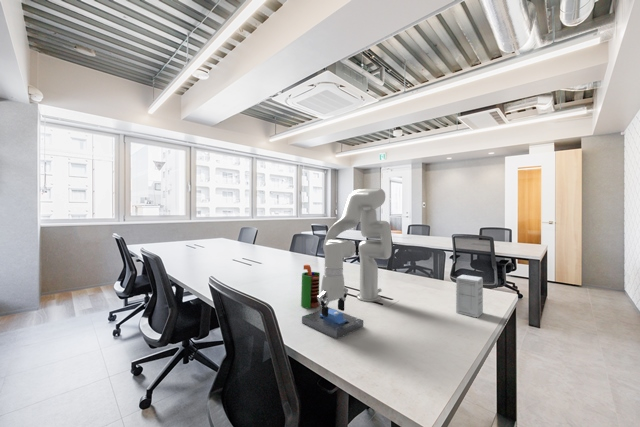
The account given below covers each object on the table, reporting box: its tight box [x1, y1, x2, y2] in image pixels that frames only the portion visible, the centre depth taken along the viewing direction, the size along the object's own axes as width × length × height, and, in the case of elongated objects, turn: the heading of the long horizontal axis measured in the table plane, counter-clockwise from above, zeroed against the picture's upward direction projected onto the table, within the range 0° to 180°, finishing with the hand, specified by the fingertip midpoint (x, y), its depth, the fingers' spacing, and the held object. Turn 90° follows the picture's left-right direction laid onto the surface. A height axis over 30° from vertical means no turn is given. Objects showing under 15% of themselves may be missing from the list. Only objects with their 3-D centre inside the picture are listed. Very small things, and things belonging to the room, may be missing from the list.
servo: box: [320, 308, 347, 326], centre depth 114 cm, size 4×12×6 cm, turn 43°
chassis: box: [301, 307, 364, 340], centre depth 115 cm, size 16×20×3 cm
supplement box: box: [455, 274, 484, 318], centre depth 130 cm, size 10×9×17 cm
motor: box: [300, 264, 321, 309], centre depth 138 cm, size 10×9×20 cm
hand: (333, 312), depth 114 cm, fingers open, 9 cm apart
